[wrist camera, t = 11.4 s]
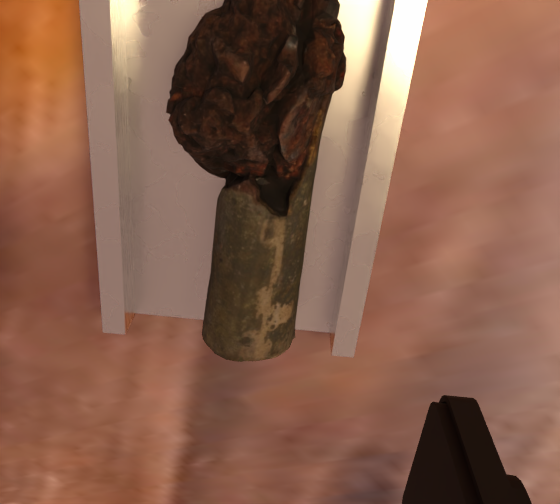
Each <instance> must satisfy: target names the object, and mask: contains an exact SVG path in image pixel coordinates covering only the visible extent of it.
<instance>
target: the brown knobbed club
mask: <svg viewBox="0 0 560 504" xmlns="http://www.w3.org/2000/svg"><path fill="white" fill-rule="evenodd" d="M339 9H340V3H339V1H338V0H224V2H223V5H222V6H221V7H219V8H216V9H214V10H211V11H209V12H207V13H205V15H204V16H203V17H202V18H201V19H200V21H199V23H198V24H197V26H196V28H195V29H194V31H193V32H192V33H191V34H190V36H189V37H188V42H187V48H186V50H185V52H184V55H183V56H182V57H181V58H180V60H179V61H178V62H177V64H176V66H175V69H174V75H173V77H172V84H171V90H170V91H169V94H170V98H169V99H168V102H167V108H166V113H168V114H170V117H169V120H168V121H169V122H170V124H171V126H172V128H173V133H174V137H175V138H176V140H177V142H178V144H180V145H182V147H183V149H184V151H186V152H187V153H189V155H190V156H191V157H192V158H193V159H194V161H195V162H196V163H197V164H198V165H199V166H200V167H202V168H203V169H204V170H205V171H207V172H208V173H210V174H212V175H215V176H217V177H219V178H225V179H226V182H225V186H224V187H223V188H222V189H221V192H220V194H219V196H218V199H217V206H216V216H215V227H214V238H213V248H212V260H211V273H210V279H209V284H208V290H207V298H206V305H205V312H204V321H203V329H202V336H203V340H204V341H205V343H206V344H207V345H208V346H209V347H210V348H211V349H212V350H213V352H214V353H215V354H217V355H219V356H220V357H222V358H224V359H226V360H232V361H240V362H242V361H259V360H265V359H271V358H275V357H278V356H279V355H281V354H282V353H284V352H285V351H286V350H287V349H288V348H289V347H290V345H291V343H292V340H293V339H294V338H295V322H296V314H297V306H298V299H299V288H300V281H301V275H302V269H303V261H304V253H305V245H306V237H307V230H308V222H309V215H310V207H311V199H312V193H313V185H314V179H315V173H316V168H317V161H318V153H319V146H320V140H321V136H322V131H323V127H324V124H325V120H326V116H327V112H328V108H329V105H330V102H331V98H332V94H333V93H334V91H338V90H339V89H340V88H341V87H342V86H343V82H344V77H345V73H346V56H345V54H344V51H343V50H344V40H345V36H344V33H343V31H342V25H341V23H340V21H339V20H338V14H339Z"/></svg>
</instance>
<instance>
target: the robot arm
mask: <svg viewBox="0 0 560 504" xmlns="http://www.w3.org/2000/svg"><path fill="white" fill-rule="evenodd" d="M402 504H532V503H531V501H530V498H529V496H528V494H527V491H526V489H525V487H524V485H523V484H522V482H521V480H519V479H518V478H517V477H516V476H513V475H506V472H505V470H504V467H503V465H502V462H501V460H500V457H499V455H498V452H497V450H496V447H495V445H494V442H493V440H492V437H491V435H490V432H489V430H488V427H487V425H486V422H485V420H484V417H483V415H482V412H481V410H480V407H479V405H478V403H477V401H476V400H475V399H474V398H467V397H457V396H447V395H444V396H442V397H441V399H440V401H439V403H437V402H432V403H431V404H430V407H429V410H428V413H427V417H426V420H425V424H424V427H423V430H422V434H421V437H420V440H419V444H418V447H417V451H416V454H415V457H414V461H413V464H412V467H411V471H410V474H409V478H408V481H407V484H406V488H405V491H404V494H403V500H402Z"/></svg>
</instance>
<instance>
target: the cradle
mask: <svg viewBox="0 0 560 504" xmlns="http://www.w3.org/2000/svg"><path fill="white" fill-rule="evenodd" d="M338 1H339V3H340V9H339V14H338V20H339V21H340V23H341V25H342V31H343V33H344V36H345V40H344V50H343V51H344V54H345V56H346V73H345V77H344V82H343V86H342V87H341V88H340V89H339V90H338V91H334V93H333V94H332V98H331V102H330V105H329V108H328V112H327V116H326V120H325V124H324V127H323V131H322V136H321V140H320V146H319V153H318V161H317V168H316V173H315V179H314V185H313V193H312V199H311V207H310V215H309V222H308V230H307V237H306V245H305V253H304V261H303V269H302V275H301V281H300V288H299V299H298V306H297V314H296V322H295V329H297V330H307V331H317V332H327V333H330V344H331V355H333V356H343V357H353V358H354V354H355V349H356V344H357V339H358V334H359V329H360V324H361V320H362V315H363V310H364V305H365V300H366V295H367V290H368V286H369V281H370V276H371V271H372V266H373V261H374V256H375V252H376V247H377V242H378V237H379V232H380V227H381V223H382V218H383V213H384V208H385V203H386V198H387V193H388V189H389V184H390V179H391V174H392V169H393V164H394V159H395V155H396V150H397V145H398V140H399V135H400V130H401V125H402V121H403V116H404V111H405V106H406V101H407V96H408V91H409V87H410V82H411V77H412V72H413V67H414V62H415V58H416V53H417V48H418V43H419V38H420V33H421V28H422V24H423V19H424V14H425V9H426V4H427V0H338ZM223 2H224V0H79V8H80V21H81V35H82V49H83V63H84V77H85V91H86V105H87V119H88V133H89V147H90V161H91V175H92V189H93V203H94V217H95V231H96V245H97V259H98V273H99V286H100V300H101V314H102V328H103V332H104V333H114V334H124V335H125V334H126V332H127V330H128V328H129V326H130V324H131V322H132V320H133V318H134V316H135V314H136V313H139V314H148V315H158V316H168V317H178V318H188V319H198V320H204V312H205V305H206V298H207V290H208V284H209V279H210V273H211V260H212V248H213V238H214V227H215V216H216V206H217V199H218V196H219V194H220V192H221V189H222V188H223V187H224V186H225V182H226V179H225V178H219V177H217V176H215V175H212V174H210V173H208V172H207V171H205V170H204V169H203V168H202V167H200V166H199V165H198V164H197V163H196V162H195V161H194V159H193V158H192V157H191V156H190V155H189V153H187V152H186V151H184V149H183V147H182V145H180V144H178V142H177V140H176V138H175V137H174V133H173V128H172V126H171V124H170V122H169V121H168V120H169V117H170V114H168V113H166V108H167V102H168V99H169V98H170V94H169V91H170V90H171V84H172V77H173V75H174V69H175V66H176V64H177V62H178V61H179V60H180V58H181V57H182V56H183V55H184V52H185V50H186V48H187V42H188V37H189V36H190V34H191V33H192V32H193V31H194V29H195V28H196V26H197V24H198V23H199V21H200V19H201V18H202V17H203V16H204V15H205V13H207V12H209V11H211V10H214V9H216V8H219V7H221V6H222V5H223Z"/></svg>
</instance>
